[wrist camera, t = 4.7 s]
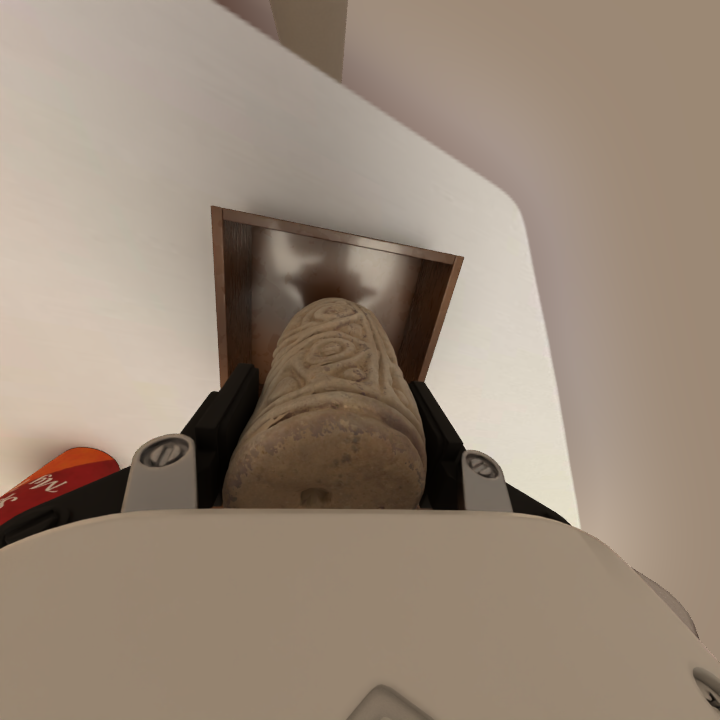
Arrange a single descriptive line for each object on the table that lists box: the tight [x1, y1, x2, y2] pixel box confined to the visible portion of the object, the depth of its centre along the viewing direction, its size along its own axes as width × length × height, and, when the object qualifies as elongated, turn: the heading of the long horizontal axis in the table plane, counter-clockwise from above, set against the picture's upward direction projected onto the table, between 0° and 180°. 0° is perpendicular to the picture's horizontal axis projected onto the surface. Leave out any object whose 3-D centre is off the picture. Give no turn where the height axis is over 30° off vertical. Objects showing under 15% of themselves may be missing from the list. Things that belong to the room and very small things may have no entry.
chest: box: [211, 206, 464, 398], centre depth 21 cm, size 15×15×7 cm
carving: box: [222, 298, 427, 510], centre depth 12 cm, size 6×8×12 cm
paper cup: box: [0, 447, 120, 526], centre depth 22 cm, size 8×8×14 cm
